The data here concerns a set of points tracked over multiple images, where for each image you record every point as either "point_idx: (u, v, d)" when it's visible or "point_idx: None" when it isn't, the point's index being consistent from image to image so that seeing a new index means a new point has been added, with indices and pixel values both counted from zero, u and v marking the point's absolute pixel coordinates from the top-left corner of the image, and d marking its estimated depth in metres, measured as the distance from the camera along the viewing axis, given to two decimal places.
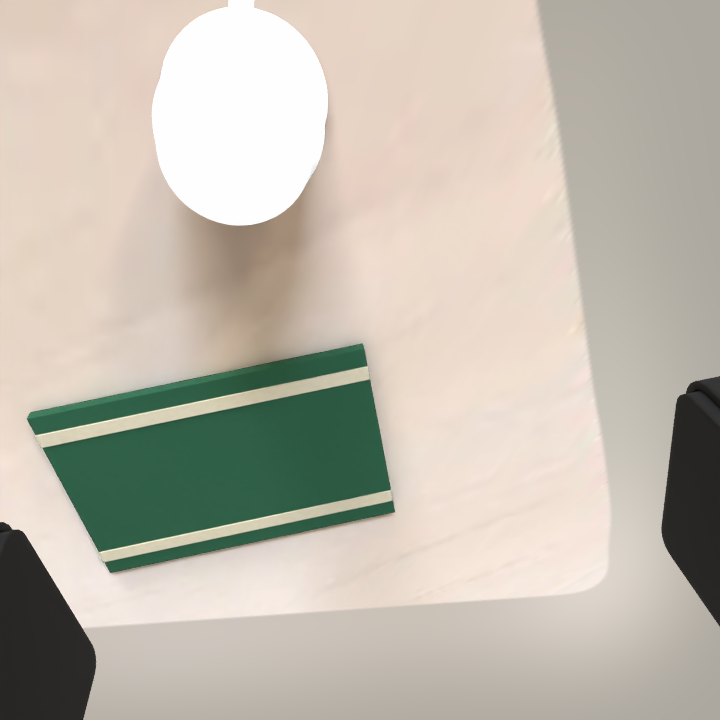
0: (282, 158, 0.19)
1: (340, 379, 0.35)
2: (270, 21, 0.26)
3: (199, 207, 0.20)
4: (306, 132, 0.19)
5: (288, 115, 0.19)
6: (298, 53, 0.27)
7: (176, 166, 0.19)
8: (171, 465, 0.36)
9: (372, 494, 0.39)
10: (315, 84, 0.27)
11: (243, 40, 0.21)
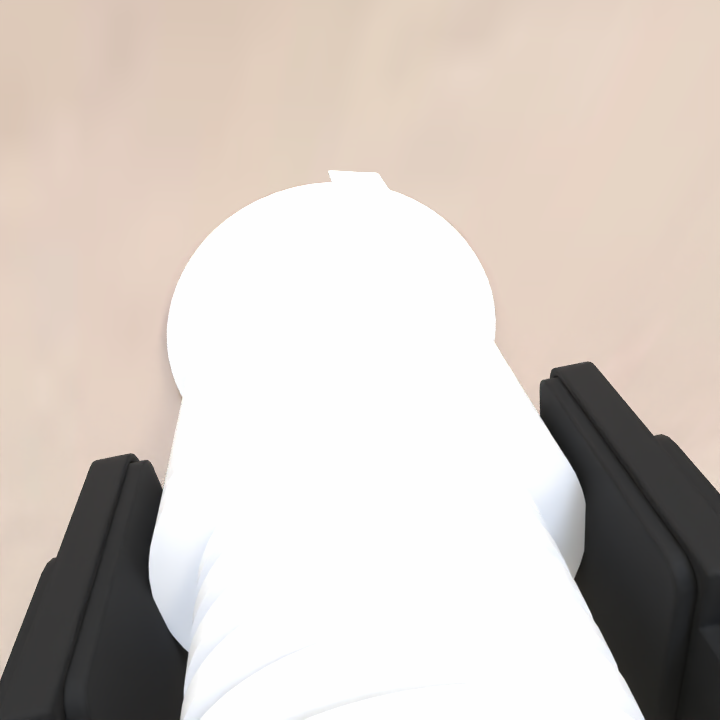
0: None
1: None
2: (399, 211, 0.12)
3: None
4: None
5: None
6: (448, 265, 0.13)
7: None
8: None
9: None
10: None
11: (410, 401, 0.07)
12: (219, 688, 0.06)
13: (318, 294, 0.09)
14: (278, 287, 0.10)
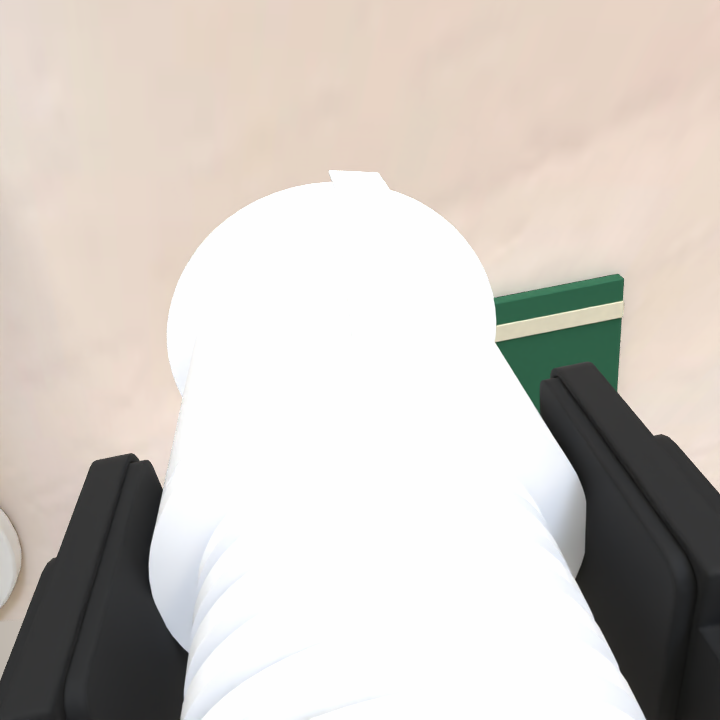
0: None
1: (589, 316, 0.29)
2: (400, 210, 0.12)
3: None
4: None
5: None
6: (449, 265, 0.13)
7: None
8: None
9: None
10: None
11: (411, 401, 0.07)
12: (219, 689, 0.06)
13: (318, 294, 0.09)
14: (278, 287, 0.10)
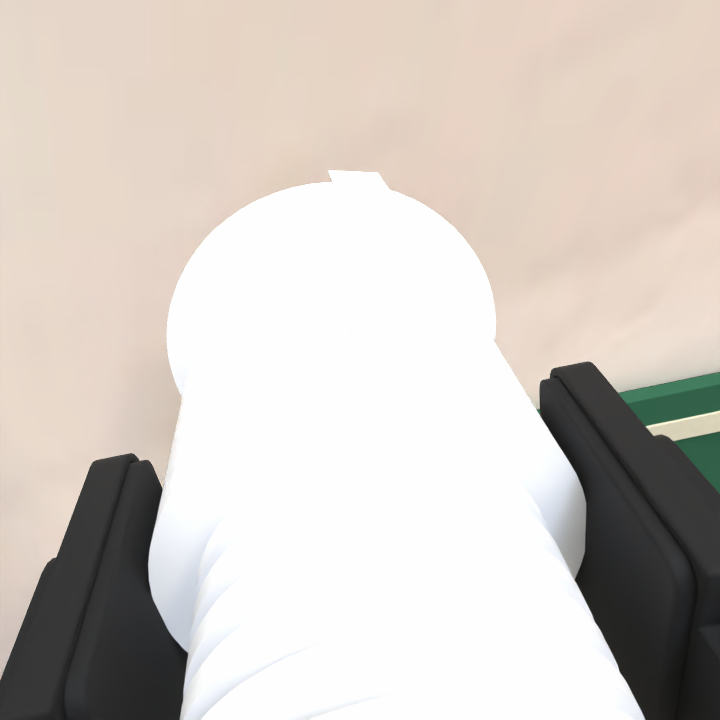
0: None
1: None
2: (400, 210, 0.12)
3: None
4: None
5: None
6: (449, 265, 0.13)
7: None
8: None
9: None
10: None
11: (411, 401, 0.07)
12: (219, 690, 0.06)
13: (318, 294, 0.09)
14: (278, 287, 0.10)
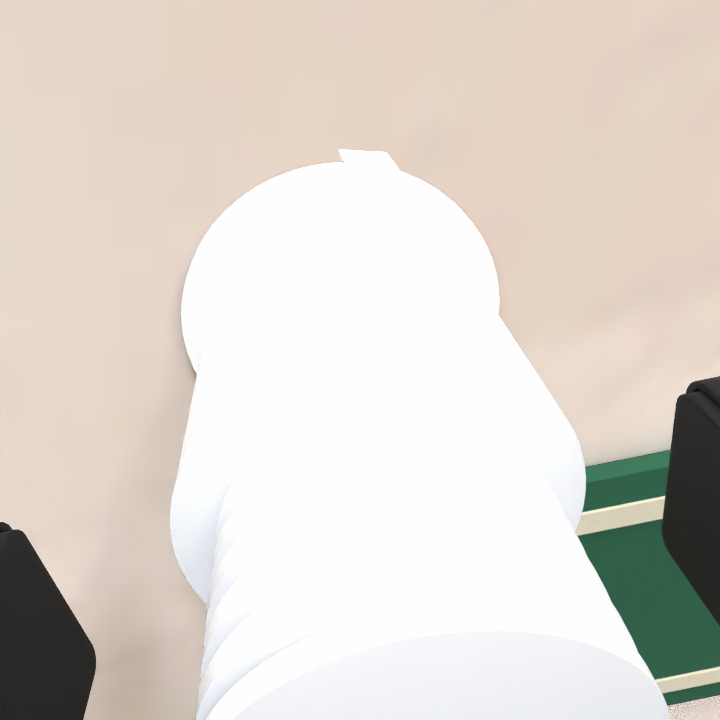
0: None
1: None
2: (407, 190, 0.13)
3: None
4: None
5: (616, 711, 0.06)
6: (454, 244, 0.14)
7: None
8: None
9: None
10: None
11: (418, 359, 0.08)
12: (241, 616, 0.06)
13: (330, 265, 0.10)
14: (291, 259, 0.10)
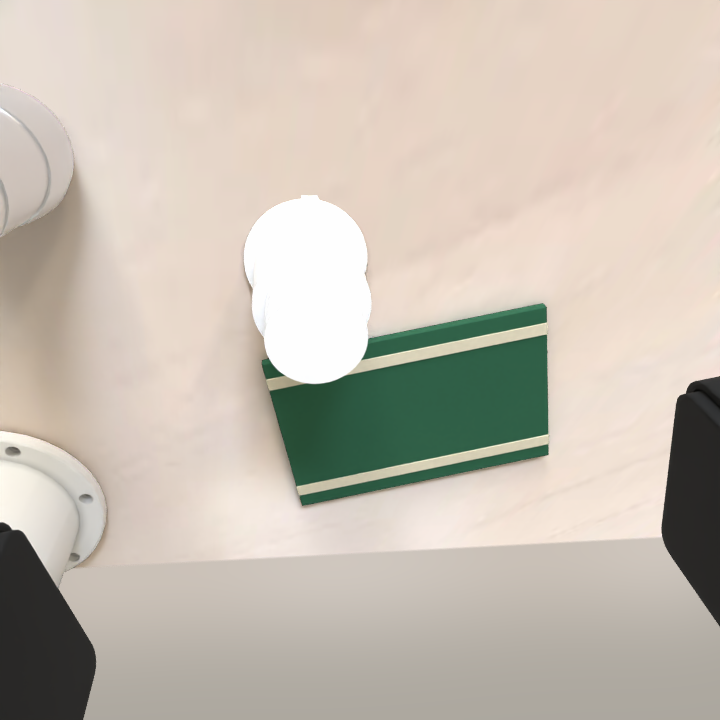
0: (347, 343, 0.29)
1: (523, 333, 0.41)
2: (327, 208, 0.35)
3: (289, 373, 0.29)
4: (363, 327, 0.29)
5: (352, 318, 0.28)
6: (346, 228, 0.36)
7: (276, 350, 0.29)
8: (371, 408, 0.42)
9: (532, 438, 0.45)
10: (358, 248, 0.37)
11: (317, 253, 0.30)
12: None
13: (297, 232, 0.32)
14: (285, 231, 0.33)
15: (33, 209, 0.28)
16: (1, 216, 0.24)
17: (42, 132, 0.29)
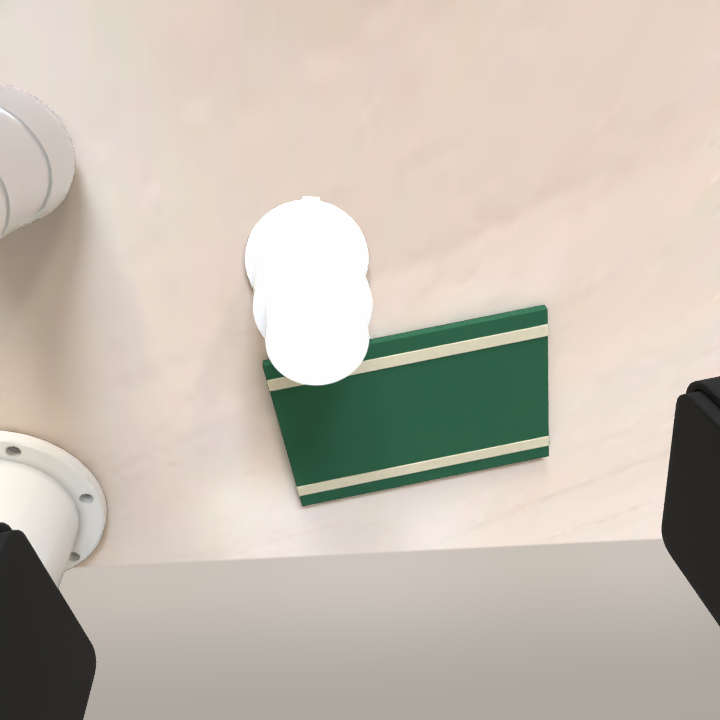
0: (348, 345, 0.29)
1: (524, 335, 0.41)
2: (328, 209, 0.35)
3: (290, 375, 0.29)
4: (365, 329, 0.29)
5: (353, 320, 0.28)
6: (348, 229, 0.36)
7: (277, 351, 0.29)
8: (372, 409, 0.42)
9: (533, 439, 0.45)
10: (359, 249, 0.37)
11: (319, 255, 0.30)
12: None
13: (298, 233, 0.32)
14: (286, 232, 0.33)
15: (34, 210, 0.28)
16: (2, 217, 0.24)
17: (44, 133, 0.28)
